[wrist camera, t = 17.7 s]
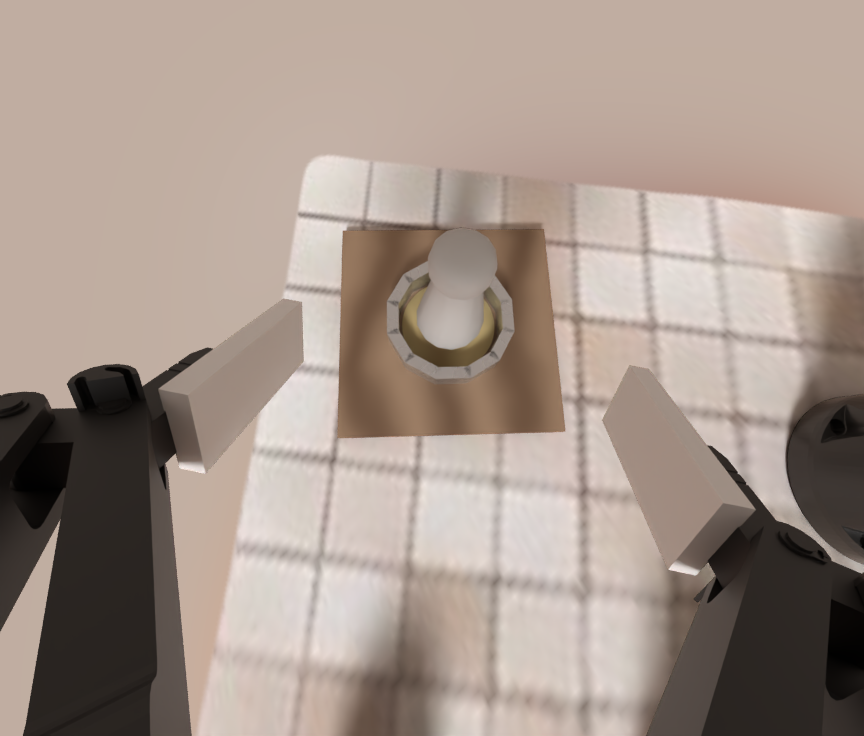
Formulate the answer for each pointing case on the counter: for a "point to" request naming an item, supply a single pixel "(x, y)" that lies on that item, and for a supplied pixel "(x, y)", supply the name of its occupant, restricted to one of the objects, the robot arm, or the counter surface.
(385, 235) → the collar board
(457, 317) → the salt shaker
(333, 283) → the counter surface
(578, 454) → the counter surface
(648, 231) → the counter surface
